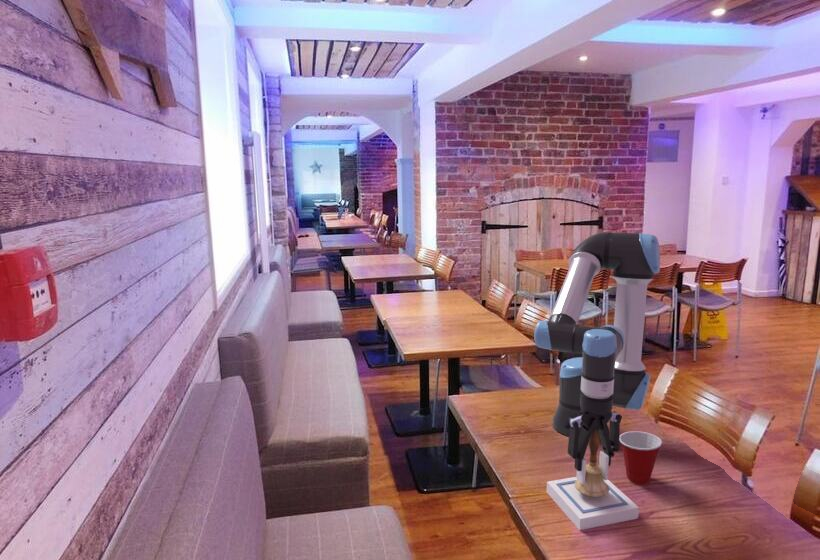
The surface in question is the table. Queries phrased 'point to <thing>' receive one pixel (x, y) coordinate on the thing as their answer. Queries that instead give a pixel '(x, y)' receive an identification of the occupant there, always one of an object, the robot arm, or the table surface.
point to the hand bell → (593, 472)
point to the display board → (591, 504)
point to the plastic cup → (639, 455)
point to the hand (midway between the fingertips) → (591, 479)
